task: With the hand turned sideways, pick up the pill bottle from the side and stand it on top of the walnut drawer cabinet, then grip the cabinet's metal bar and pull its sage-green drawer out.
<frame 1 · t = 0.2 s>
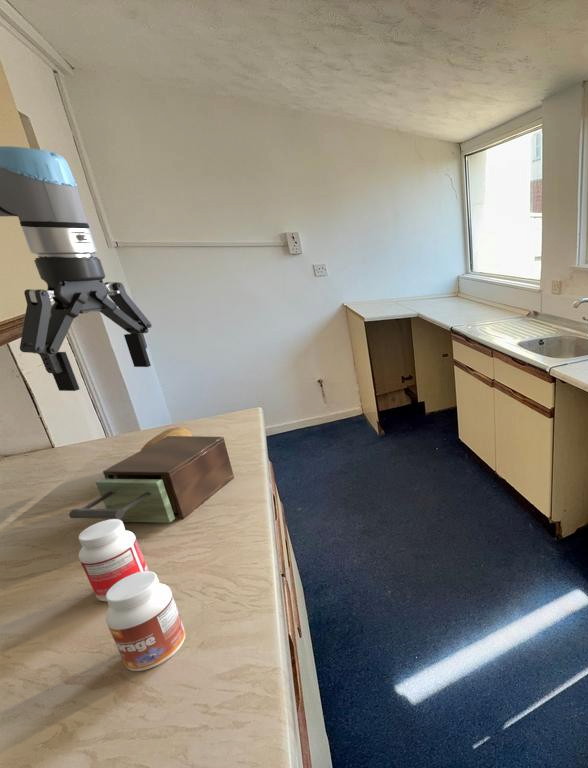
hand: (109, 377, 73), 28 cm above the counter, tool pointing down, fingers open, 13 cm apart
pill bottle 2: (158, 650, 53), on the counter
cabinet: (182, 496, 84), on the counter
drawer: (149, 492, 77), point 5 cm above the counter, slide at 1.0 cm
pill bottle: (125, 587, 62), on the counter
potato: (174, 463, 97), on the counter
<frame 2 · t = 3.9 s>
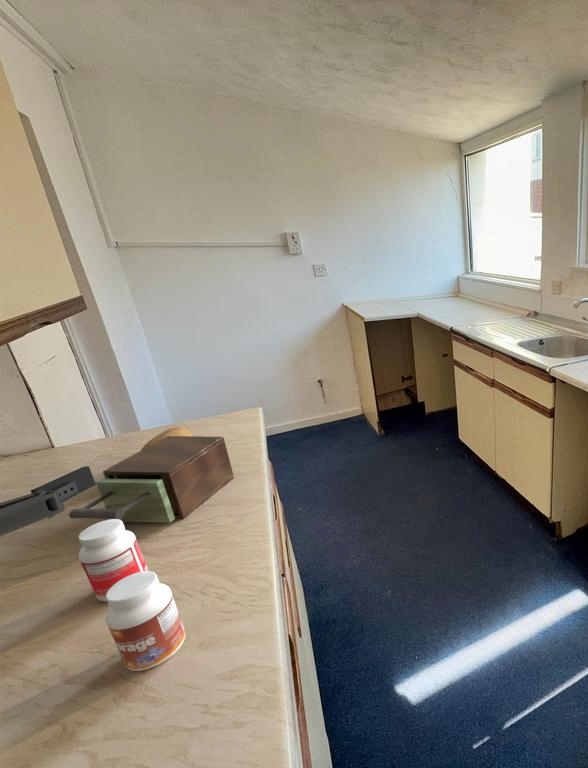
hand: (32, 483, 51), 21 cm above the counter, tool horizontal, fingers open, 13 cm apart
nothing on the counter moved.
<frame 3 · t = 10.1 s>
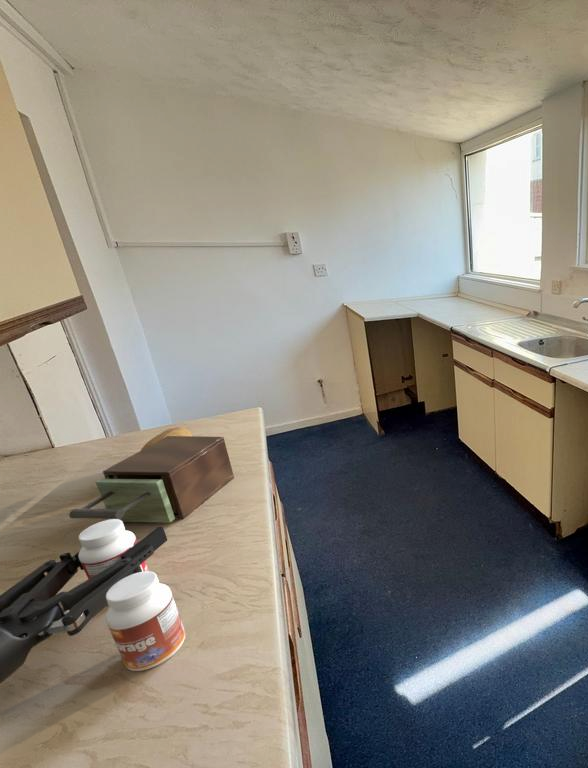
hand: (142, 533, 65), 6 cm above the counter, tool horizontal, fingers closed on pill bottle, 6 cm apart
pill bottle: (125, 587, 62), on the counter, touching gripper
everything else where it was.
when the fingers open (17 cm above the counter, at t = 17.8 s): pill bottle stays where it is, resting on cabinet.
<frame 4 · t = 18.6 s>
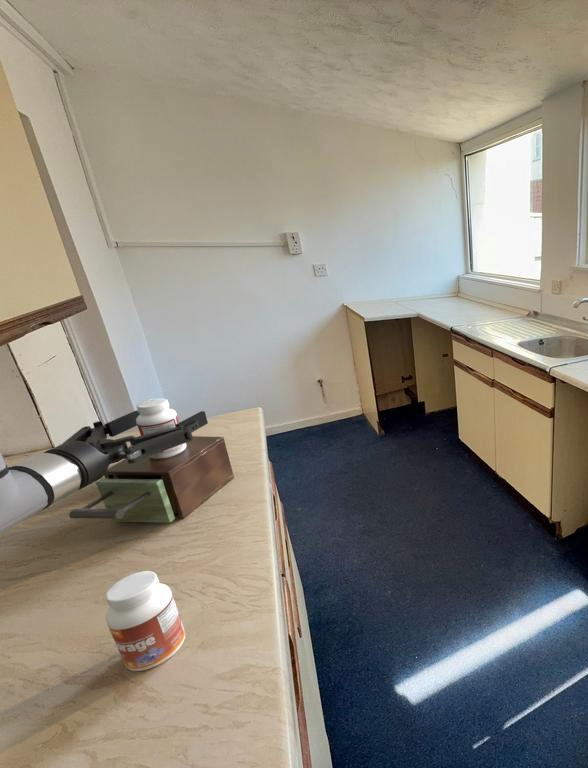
hand: (172, 416, 82), 17 cm above the counter, tool horizontal, fingers open, 13 cm apart
pill bottle: (168, 453, 81), point 10 cm above the counter, touching cabinet
everything else where it was.
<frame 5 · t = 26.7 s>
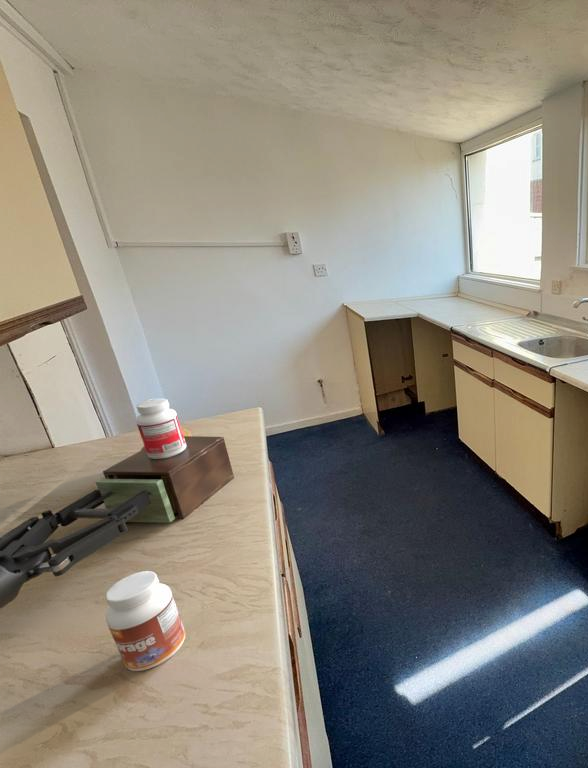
hand: (123, 496, 72), 7 cm above the counter, tool horizontal, fingers closed on drawer, 8 cm apart
drawer: (149, 492, 77), point 5 cm above the counter, slide at 1.0 cm, touching gripper
everything else where it was.
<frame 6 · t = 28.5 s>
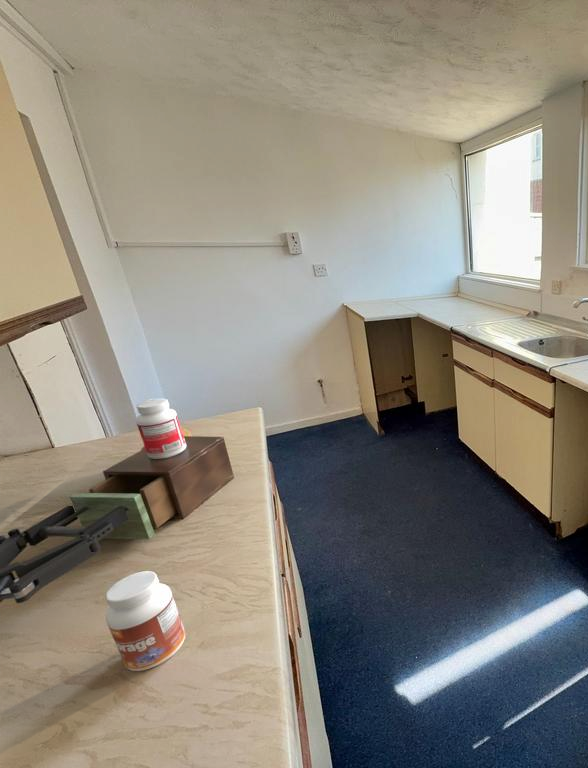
hand: (98, 512, 68), 7 cm above the counter, tool horizontal, fingers closed on drawer, 8 cm apart
drawer: (127, 506, 73), point 5 cm above the counter, slide at 5.5 cm, touching gripper
everything else where it was.
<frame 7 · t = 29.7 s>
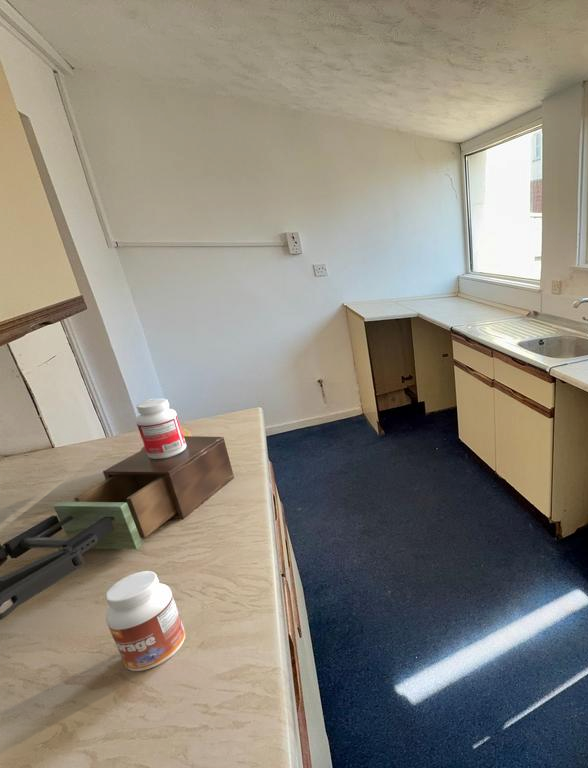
hand: (83, 522, 65), 7 cm above the counter, tool horizontal, fingers open, 8 cm apart
drawer: (114, 515, 70), point 5 cm above the counter, slide at 8.0 cm
everything else where it was.
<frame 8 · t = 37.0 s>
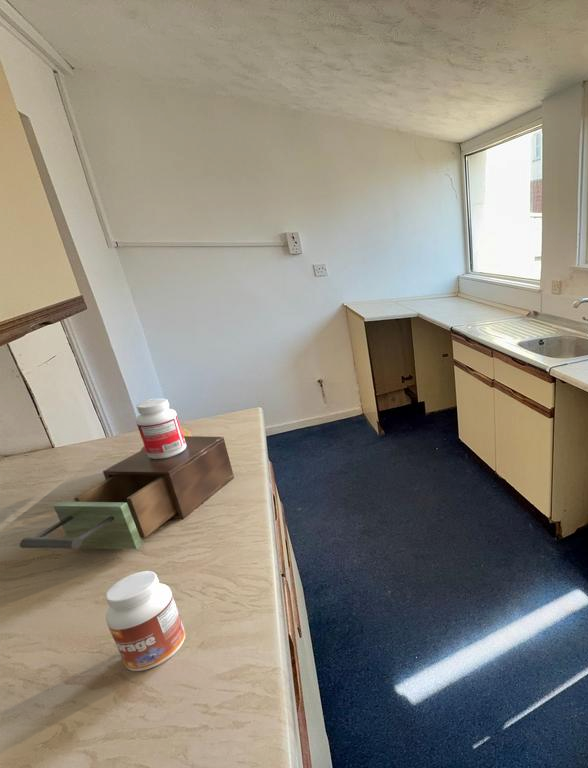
nothing on the counter moved.
at the end: drawer slide at 8.0 cm; pill bottle inside the target area on the cabinet (0.0 cm from its centre), point 10.4 cm above the cabinet's base; pill bottle tilted 0° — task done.
